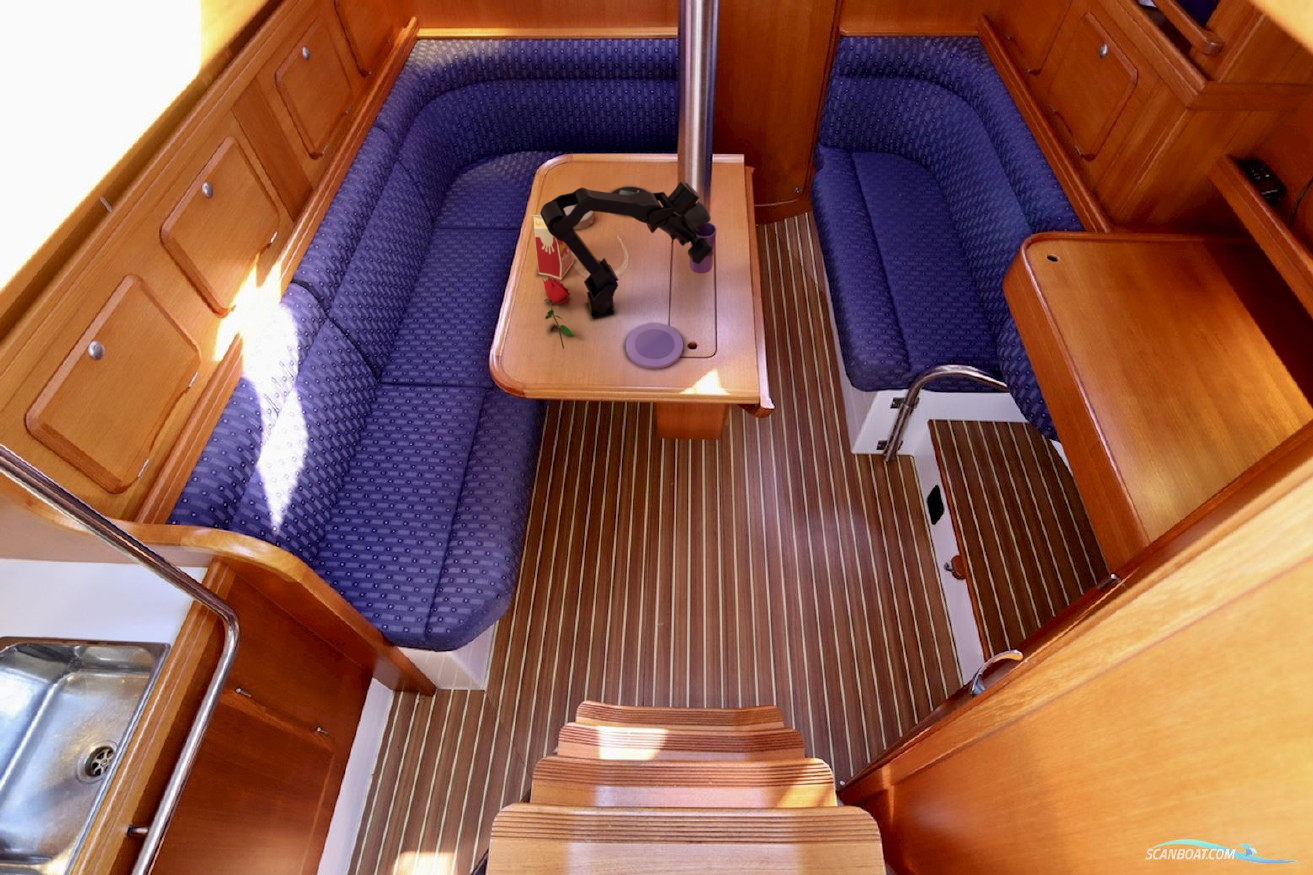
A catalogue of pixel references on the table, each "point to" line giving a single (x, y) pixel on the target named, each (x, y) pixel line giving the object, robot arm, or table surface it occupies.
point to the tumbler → (710, 234)
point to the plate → (654, 345)
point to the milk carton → (550, 251)
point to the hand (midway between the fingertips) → (706, 246)
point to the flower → (557, 301)
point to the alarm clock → (585, 220)
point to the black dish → (628, 191)
